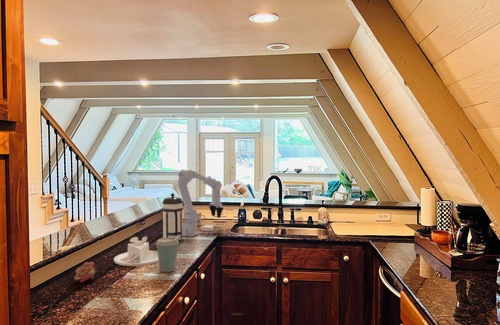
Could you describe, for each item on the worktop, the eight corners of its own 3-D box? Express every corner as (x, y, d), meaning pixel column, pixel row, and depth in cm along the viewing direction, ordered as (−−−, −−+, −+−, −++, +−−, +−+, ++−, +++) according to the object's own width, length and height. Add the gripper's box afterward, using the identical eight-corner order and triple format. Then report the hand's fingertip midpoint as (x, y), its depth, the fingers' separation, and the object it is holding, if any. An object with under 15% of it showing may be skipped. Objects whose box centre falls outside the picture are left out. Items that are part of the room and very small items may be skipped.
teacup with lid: (189, 226, 280) (189, 210, 280) (189, 223, 289) (189, 208, 289) (205, 225, 281) (205, 210, 281) (205, 223, 290) (205, 208, 290)
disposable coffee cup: (156, 274, 171) (156, 242, 170) (155, 267, 181) (155, 236, 181) (179, 272, 174) (179, 240, 173) (177, 265, 184) (177, 235, 184)
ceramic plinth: (210, 232, 261) (210, 227, 261) (200, 230, 265) (200, 226, 265) (216, 229, 268) (216, 225, 268) (207, 228, 272) (206, 224, 272)
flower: (95, 271, 170) (84, 258, 167) (105, 271, 164) (94, 258, 162) (79, 288, 164) (67, 275, 161) (89, 288, 158) (77, 276, 155)
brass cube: (222, 233, 255) (222, 226, 255) (215, 233, 254) (215, 226, 254) (220, 231, 260) (220, 224, 260) (213, 232, 259) (213, 225, 258)
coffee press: (154, 242, 230) (154, 194, 229) (171, 237, 244) (171, 191, 243) (176, 245, 222) (176, 195, 221) (192, 240, 236) (192, 193, 235)
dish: (113, 255, 203) (113, 234, 203) (160, 251, 212) (160, 231, 211) (114, 268, 180) (113, 245, 180) (166, 263, 189) (166, 241, 188)
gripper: (226, 198, 260) (226, 217, 260) (215, 196, 272) (215, 214, 272) (217, 198, 256) (217, 218, 256) (207, 196, 268) (207, 215, 268)
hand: (216, 216), depth 264 cm, fingers open, 7 cm apart
